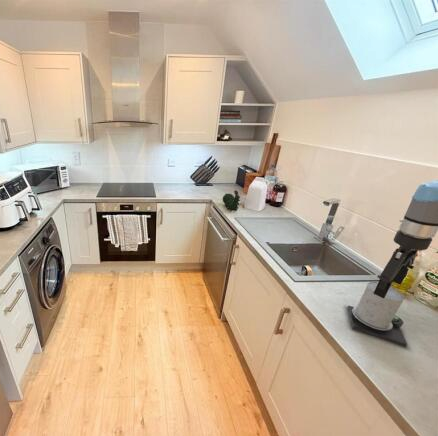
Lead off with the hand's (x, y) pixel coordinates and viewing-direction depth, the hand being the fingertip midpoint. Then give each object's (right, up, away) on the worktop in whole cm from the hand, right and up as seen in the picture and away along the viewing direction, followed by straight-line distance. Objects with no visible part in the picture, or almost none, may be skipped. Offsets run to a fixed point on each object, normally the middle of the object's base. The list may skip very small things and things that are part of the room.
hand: (387, 288), depth 81 cm
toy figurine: (-14, +32, +116) cm, 121 cm away
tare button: (+8, -13, +6) cm, 16 cm away
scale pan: (0, -12, +5) cm, 14 cm away
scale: (+1, -15, +6) cm, 17 cm away
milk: (+7, +33, +117) cm, 122 cm away
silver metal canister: (0, -12, +5) cm, 13 cm away
